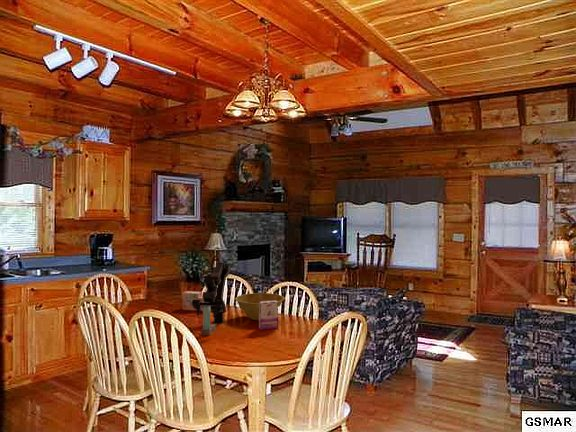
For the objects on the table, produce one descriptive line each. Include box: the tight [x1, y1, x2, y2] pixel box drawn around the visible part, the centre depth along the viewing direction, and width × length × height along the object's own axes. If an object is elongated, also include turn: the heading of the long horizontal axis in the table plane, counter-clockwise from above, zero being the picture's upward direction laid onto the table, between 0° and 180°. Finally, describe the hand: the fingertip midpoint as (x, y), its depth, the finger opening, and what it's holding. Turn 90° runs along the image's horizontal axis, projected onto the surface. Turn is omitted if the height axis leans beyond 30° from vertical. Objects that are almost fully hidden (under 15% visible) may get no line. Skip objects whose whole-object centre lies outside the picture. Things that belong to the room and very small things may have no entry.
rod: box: [202, 306, 211, 330], centre depth 263 cm, size 4×4×13 cm
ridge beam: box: [200, 323, 218, 337], centre depth 268 cm, size 14×5×3 cm, turn 172°
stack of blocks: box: [181, 290, 211, 312], centre depth 324 cm, size 21×6×12 cm, turn 73°
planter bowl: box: [234, 292, 285, 321], centre depth 301 cm, size 32×32×13 cm
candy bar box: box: [258, 300, 279, 331], centre depth 276 cm, size 11×5×16 cm, turn 105°
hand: (205, 316), depth 261 cm, fingers open, 9 cm apart
